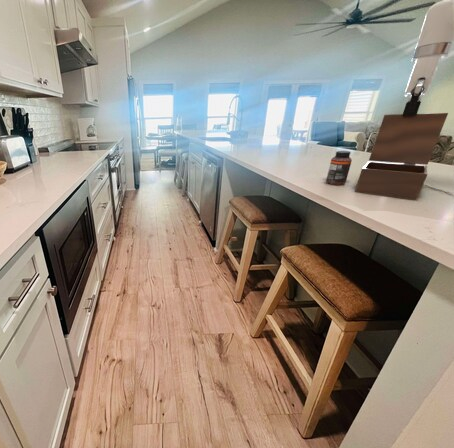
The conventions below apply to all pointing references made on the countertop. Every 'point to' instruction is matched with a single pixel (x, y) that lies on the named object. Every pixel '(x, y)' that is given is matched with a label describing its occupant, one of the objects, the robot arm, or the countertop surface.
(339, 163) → the supplement bottle
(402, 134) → the lid
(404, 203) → the countertop surface
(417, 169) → the chest
